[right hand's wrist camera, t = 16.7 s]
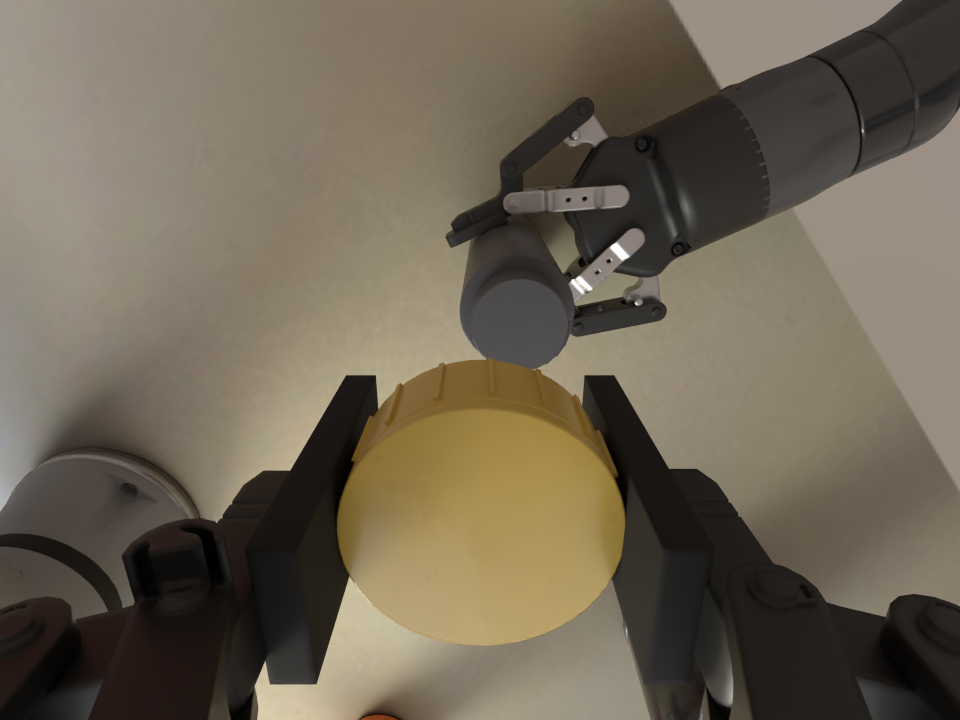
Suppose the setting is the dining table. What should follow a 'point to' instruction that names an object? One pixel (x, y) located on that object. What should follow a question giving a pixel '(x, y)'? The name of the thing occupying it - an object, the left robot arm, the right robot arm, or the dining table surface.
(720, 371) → the dining table surface
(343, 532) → the lid
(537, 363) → the jar
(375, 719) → the cup with straw
